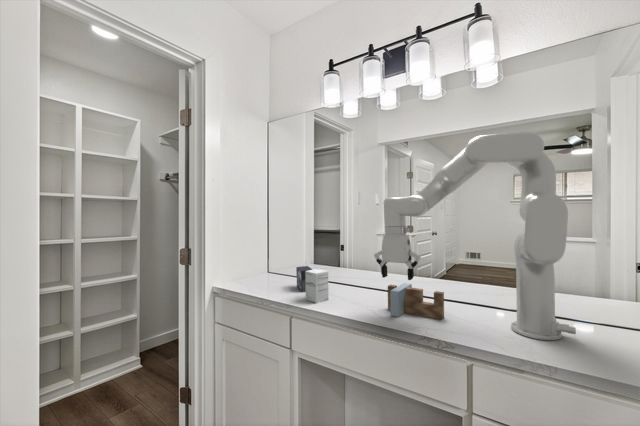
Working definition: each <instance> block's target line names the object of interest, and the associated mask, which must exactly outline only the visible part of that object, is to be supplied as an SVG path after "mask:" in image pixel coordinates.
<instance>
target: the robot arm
mask: <svg viewBox="0 0 640 426" xmlns="http://www.w3.org/2000/svg"><path fill="white" fill-rule="evenodd" d="M544 150H545V141H544V140H543V138H542V137H541V136H540V135H539V134H537V133H534V132H531V131H530V132H529V131H526V132H525V131H523V132H521V131H520V132H510V133H509V132H507V133H494V134H483V135H478V136H475V137H474V138H472V139H470V140H469V142H468V143H467V145H466V147H465V148H464V149H463V150H461V151H460V152H459V153H458V154H457V155H456V156H455V157H453V158H452V159H450V161H449V162H447V163H446V164H445V165H444V166H443V167H442V168H441V169H439V170H438V171H437V173H436V174H435V176H434V177H433V179H431V181H430V182H429V183H428V184H427V185H426V186H424V188H422V189H421V190H420V191H419V192H418V193H416V194H413V195H409V196H408V195H407V196H404V197H399V196H398V197H397V196H394V197H387V198H384V200H383V220H384V221H383V222H384V235H383V236H382V242H381V243H382V244H381V250H380V251H378V252H376V253H374V254H373V256H374V259H375V260H376V263H378V266H379V267H380V269H381V270H380V271H381V272H380V273H381V277H382V278H383V279H385V278H386V277H388V266H387V263H394V264H395V263H396V264H405V265H406V266H407V271H406V272H407V280H408V281H411V280H413V278H415V274H414V273H415V272H414V270H415V269H414V268H416V266H417V265H418V264H419V262H420V260H421V258H422V256H421V255H419V254H418V253H415V252H414V251H413V250H412V243H411V240H410V236H409V234H407V233H409V232H410V230H411V228H410V227H407V224H406V223H407V221H406V219H407V218H406V217H415V218H418V217H421V216H424V215H425V214H427V212H429V211H430V210H431V209H432V208H434V207H435V206H436V205H438V204H439V203H440V202H441V201H442V200H443V199H444V198H446V197H447V196H449V195H450V194H452V193H454V191H456V190H457V189H458V188H460V187H461V186H462V185H463V184H465V183H466V182H467V181H468V180H469V179H470V178H472V177H473V176H474V175H475V174H477V173H478V172H479V171H481V170H482V169H483V168H484V167H486V166H487V165H488V164H489V163H507V164H509V165H510V166H513V167H515V168H516V169H517V170H518V171H519V172H520V173H519V174H520V177H521V193H520V203H519V214H520V217H521V219H522V220H523V221H524V231H521V232H520V233H519V234H518V235H517V236H516V238H515V240H514V257H515V273H516V277H515V279H516V280H515V281H516V282H515V283H516V286H515V287H516V320H515V321H513V322H511V323H510V328H511V330H512V331H514V332H515V333H517V334H519V335H521V336H525V337H528V338H531V339H535V340H544V341H558V340H560V339H562V338H563V333H567V334H571V335H576V334H577V331H576V330H577V329H576V327H574V326H570V324H567V323H560V322H558V321H557V318H556V303H555V302H556V298H555V297H556V296H555V295H556V293H555V292H556V291H555V289H556V287H555V286H556V285H555V283H556V279H555V278H556V277H555V265H554V264H556V263H557V262H559V261H560V260H561V259H562V258H563V256H564V254H565V251H566V247H567V235H568V234H567V233H568V225H569V223H568V222H569V211H568V206H567V203H566V202H565V200H564V199H563V198H562V197H560V196H559V195H557V172H556V167H555V165H554V163H553V161H552V159H550V157H549V156H548V155H547V154H546V153H545V152H544ZM380 256H381V257H380ZM413 258H414V261H413ZM412 261H413V262H412ZM562 332H563V333H562Z"/></svg>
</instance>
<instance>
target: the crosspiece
mask: <svg viewBox="0 0 640 426" xmlns="http://www.w3.org/2000/svg"><path fill="white" fill-rule="evenodd" d="M408 287H411V288H413V285H412V283H410V282H409V283H407V282H403V283H402V284H400V285H397V287H396V288H394V289H392V290H391V291H390V298H391V310H390V316H393V317H396V316H397V317H396V318H399V317H401V315H403V314H404V313H405V312H404V300H406V288H408Z"/></svg>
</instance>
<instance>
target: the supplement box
mask: <svg viewBox="0 0 640 426" xmlns="http://www.w3.org/2000/svg"><path fill="white" fill-rule="evenodd" d="M305 275H306V292H305V301H310V302H312V303H315V304H319V303H318V302H320V303H323V302H326V300H327V301H329V271H328V270H325V269H320V268H319V269H318V268H315V269H313V270H308V271H305ZM322 301H323V302H322Z"/></svg>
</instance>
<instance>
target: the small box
mask: <svg viewBox="0 0 640 426" xmlns="http://www.w3.org/2000/svg"><path fill="white" fill-rule="evenodd" d="M308 270H314V269H313V268H311V267H310V266H309V265H305V266H303V265H302V266H296V270H295V271H296V288H297V289H298V291H300V292H301V293H306V275H305V271H308Z"/></svg>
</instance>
